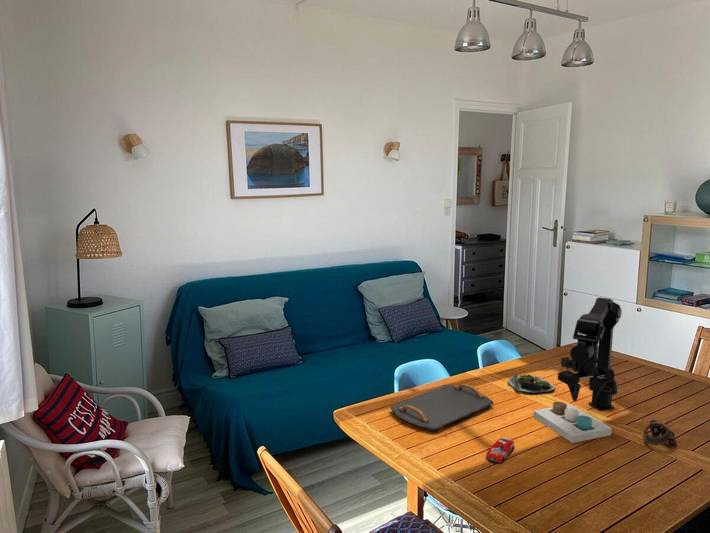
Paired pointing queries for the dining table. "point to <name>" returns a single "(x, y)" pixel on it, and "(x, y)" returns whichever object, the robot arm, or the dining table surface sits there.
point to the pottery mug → (657, 430)
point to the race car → (500, 450)
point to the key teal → (584, 423)
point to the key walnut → (559, 408)
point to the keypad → (571, 425)
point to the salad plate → (531, 384)
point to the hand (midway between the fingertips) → (584, 399)
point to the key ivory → (571, 415)
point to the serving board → (441, 406)
